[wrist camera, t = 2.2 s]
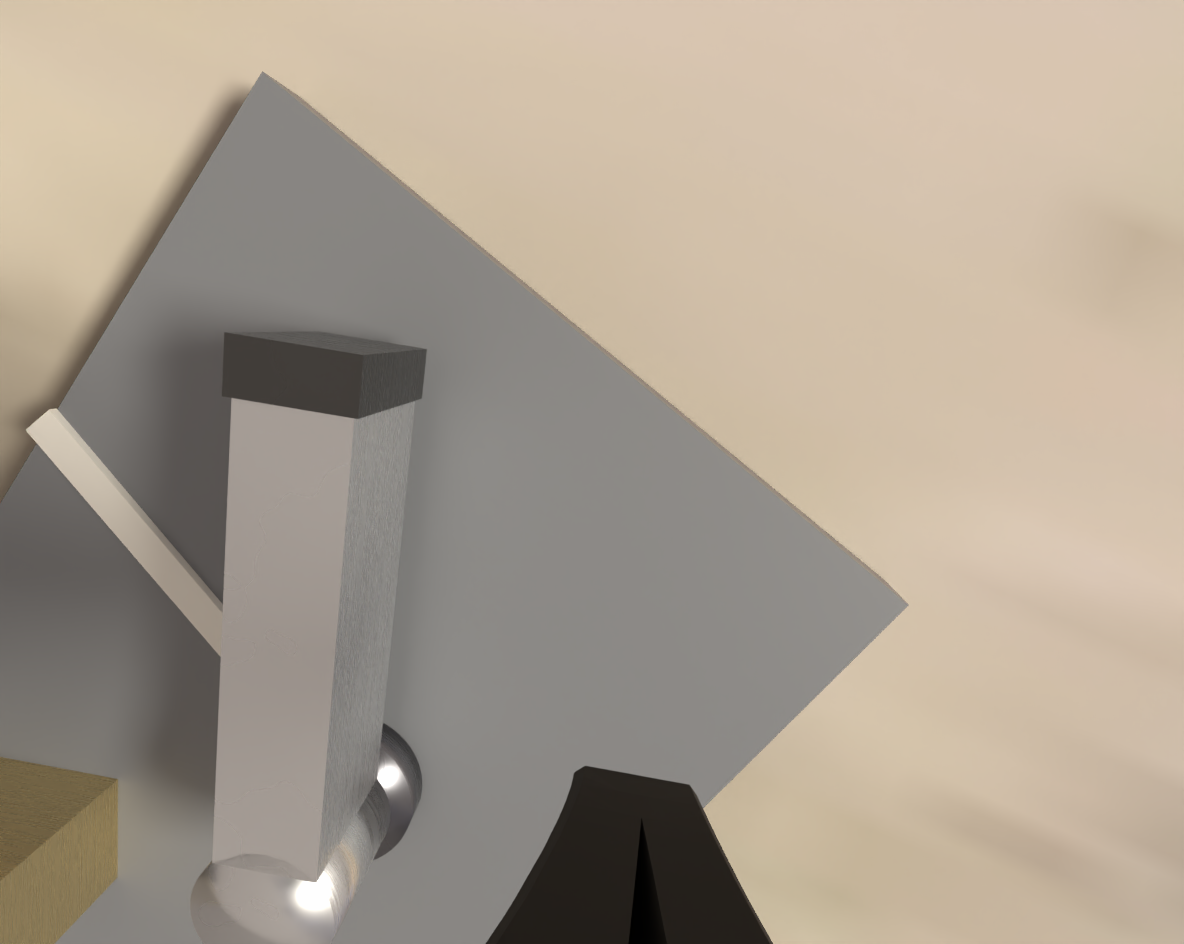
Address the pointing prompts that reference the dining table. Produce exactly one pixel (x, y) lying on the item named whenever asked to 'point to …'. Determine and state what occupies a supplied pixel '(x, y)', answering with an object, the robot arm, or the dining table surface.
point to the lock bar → (305, 628)
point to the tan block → (53, 848)
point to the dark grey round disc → (398, 785)
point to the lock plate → (401, 549)
